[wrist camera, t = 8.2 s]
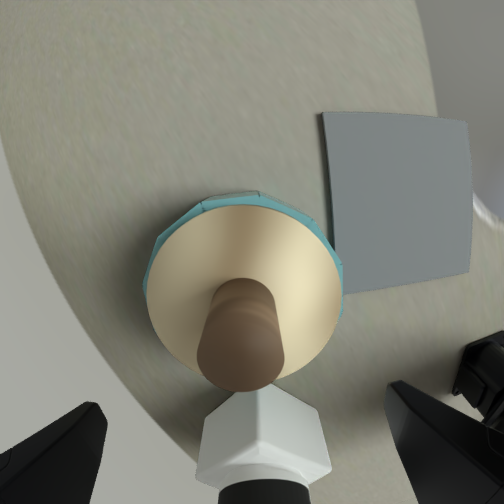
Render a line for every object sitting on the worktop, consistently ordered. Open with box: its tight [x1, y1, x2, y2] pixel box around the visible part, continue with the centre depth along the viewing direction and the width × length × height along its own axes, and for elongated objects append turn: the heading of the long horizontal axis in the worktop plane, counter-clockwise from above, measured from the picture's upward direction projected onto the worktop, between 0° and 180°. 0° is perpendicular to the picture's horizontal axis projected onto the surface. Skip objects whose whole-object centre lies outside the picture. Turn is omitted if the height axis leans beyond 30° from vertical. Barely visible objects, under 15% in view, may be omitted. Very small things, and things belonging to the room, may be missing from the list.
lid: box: [146, 204, 342, 392], centre depth 13 cm, size 10×10×6 cm
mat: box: [322, 112, 473, 295], centre depth 18 cm, size 12×12×1 cm
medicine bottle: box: [196, 383, 332, 504], centre depth 17 cm, size 7×7×12 cm
